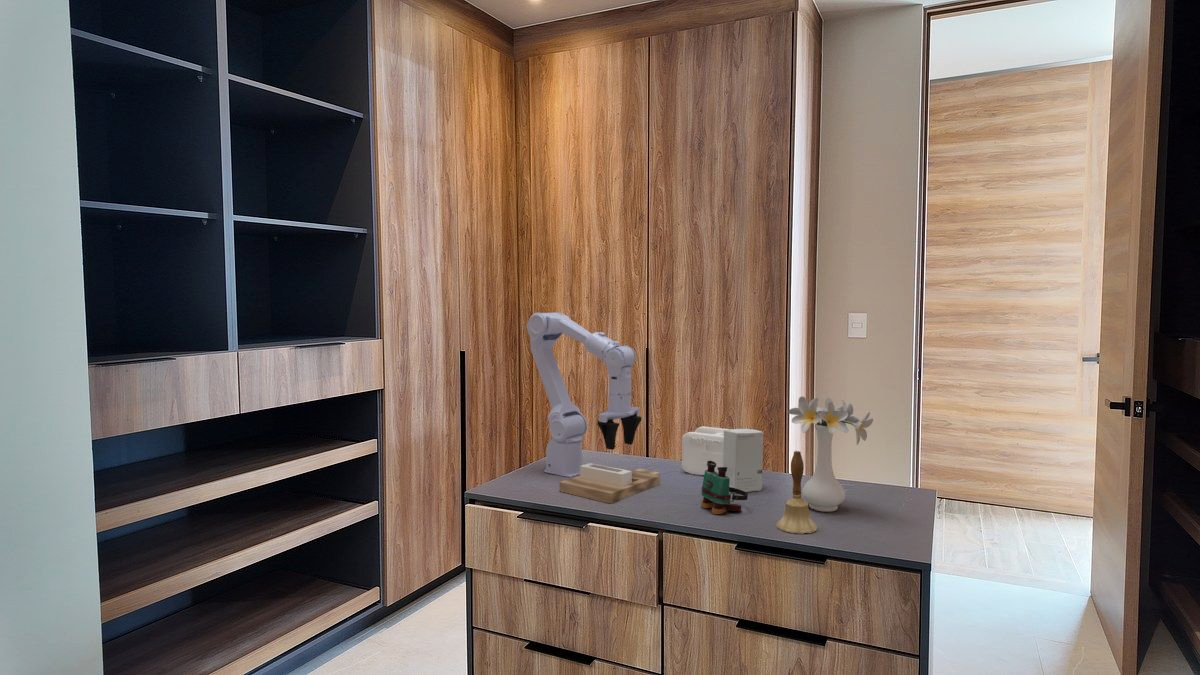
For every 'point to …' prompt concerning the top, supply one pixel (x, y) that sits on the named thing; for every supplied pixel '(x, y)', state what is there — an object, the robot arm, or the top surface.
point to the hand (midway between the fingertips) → (619, 446)
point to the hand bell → (797, 504)
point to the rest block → (648, 472)
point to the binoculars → (719, 490)
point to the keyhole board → (608, 487)
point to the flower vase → (826, 448)
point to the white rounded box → (702, 449)
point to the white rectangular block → (606, 474)
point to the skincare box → (743, 458)
